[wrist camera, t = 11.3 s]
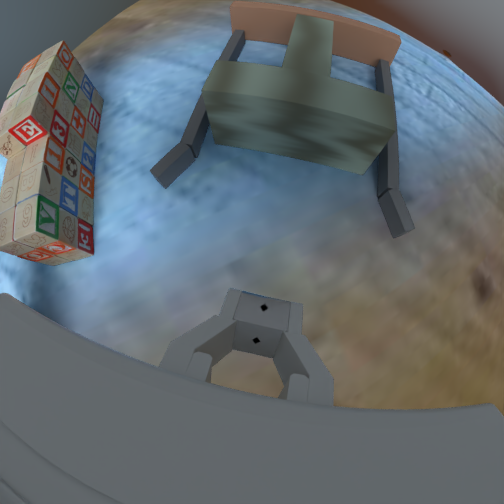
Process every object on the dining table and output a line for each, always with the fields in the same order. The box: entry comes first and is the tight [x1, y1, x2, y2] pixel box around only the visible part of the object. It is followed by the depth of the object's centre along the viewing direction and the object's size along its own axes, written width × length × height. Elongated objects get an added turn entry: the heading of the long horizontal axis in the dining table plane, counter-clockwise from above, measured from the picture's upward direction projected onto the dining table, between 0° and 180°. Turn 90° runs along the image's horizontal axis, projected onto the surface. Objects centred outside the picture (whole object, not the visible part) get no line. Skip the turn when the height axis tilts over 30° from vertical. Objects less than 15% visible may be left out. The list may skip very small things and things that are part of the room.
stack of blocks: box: [0, 41, 103, 266], centre depth 20 cm, size 21×6×12 cm, turn 11°
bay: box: [150, 1, 415, 238], centre depth 24 cm, size 24×27×6 cm
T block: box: [201, 14, 395, 175], centre depth 23 cm, size 15×15×8 cm
